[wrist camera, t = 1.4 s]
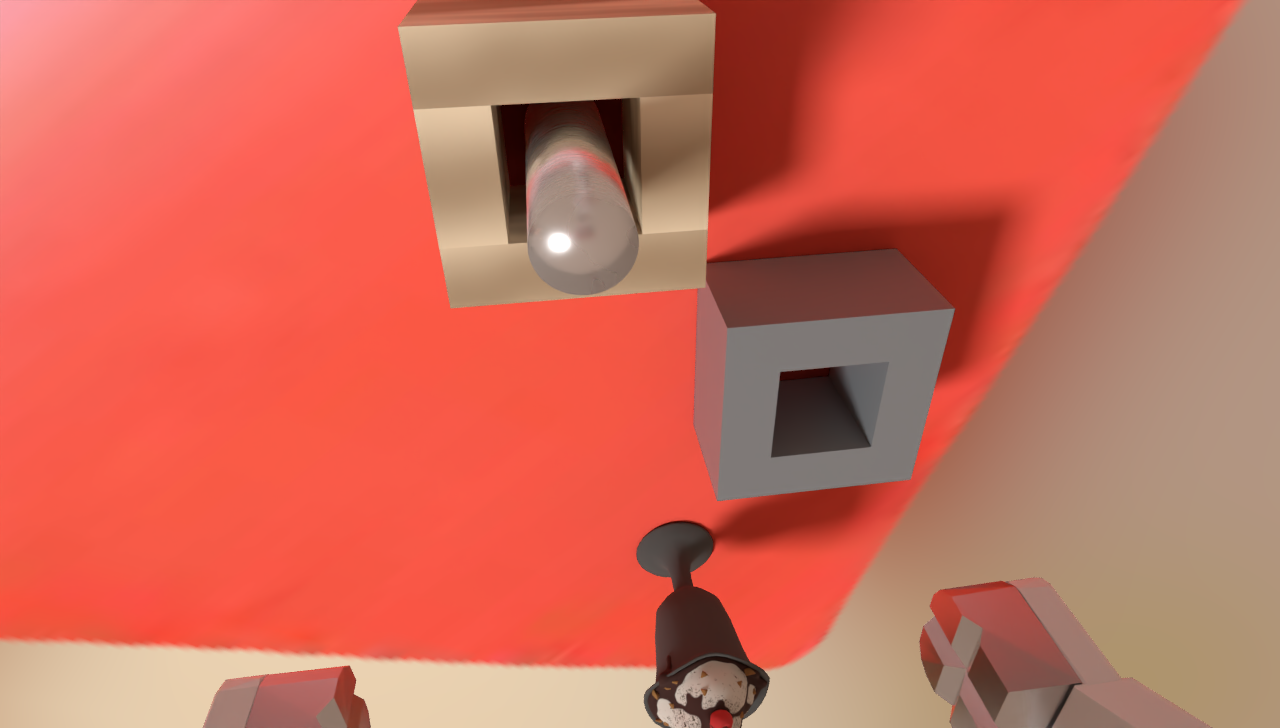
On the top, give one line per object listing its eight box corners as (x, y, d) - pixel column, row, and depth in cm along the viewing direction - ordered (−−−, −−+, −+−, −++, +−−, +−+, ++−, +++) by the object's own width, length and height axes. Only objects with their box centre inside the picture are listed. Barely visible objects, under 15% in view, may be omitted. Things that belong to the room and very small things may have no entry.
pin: (520, 86, 30) (521, 196, 20) (599, 82, 30) (637, 189, 20) (528, 164, 32) (533, 299, 22) (602, 159, 32) (640, 290, 22)
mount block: (419, -3, 28) (397, 26, 23) (681, -13, 29) (715, 12, 24) (460, 242, 33) (450, 308, 28) (678, 226, 34) (705, 287, 29)
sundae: (677, 494, 44) (738, 739, 32) (746, 542, 47) (825, 781, 35) (600, 554, 46) (629, 805, 34) (671, 596, 49) (721, 840, 37)
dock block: (698, 263, 35) (727, 328, 31) (896, 248, 36) (955, 308, 32) (693, 424, 41) (717, 501, 36) (865, 407, 42) (910, 479, 37)
